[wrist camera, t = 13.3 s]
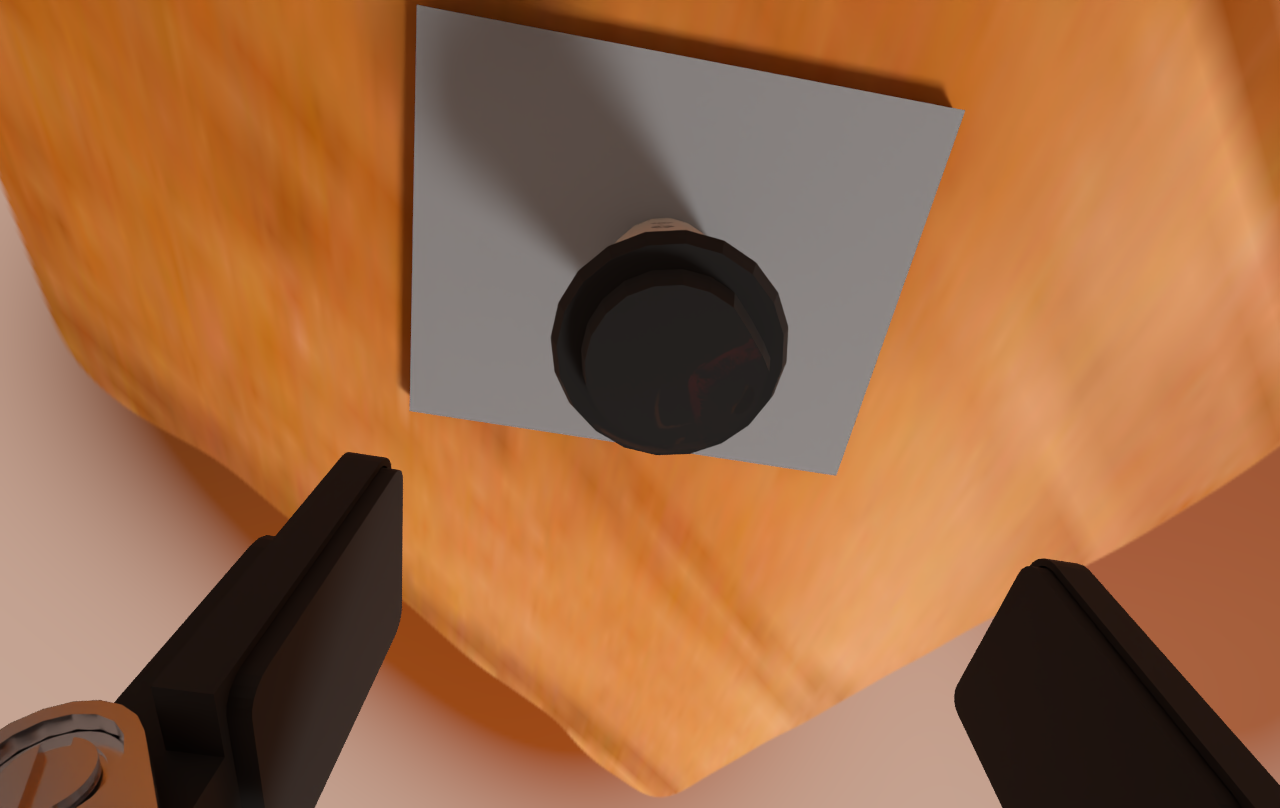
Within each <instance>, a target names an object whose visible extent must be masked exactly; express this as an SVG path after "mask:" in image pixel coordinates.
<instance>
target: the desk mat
mask: <svg viewBox="0 0 1280 808" xmlns="http://www.w3.org/2000/svg"><path fill="white" fill-rule="evenodd" d="M964 112H965V110H960V109H955V108H950V107H945V106H940V105H935V104H929V103H924V102H919V101H914V100H909V99H903V98H898V97H893V96H888V95H883V94H877V93H872V92H867V91H862V90H857V89H852V88H846V87H841V86H836V85H831V84H826V83H820V82H815V81H810V80H805V79H800V78H794V77H789V76H784V75H779V74H774V73H769V72H763V71H758V70H753V69H748V68H743V67H737V66H732V65H727V64H722V63H717V62H712V61H706V60H701V59H696V58H691V57H686V56H680V55H675V54H670V53H665V52H660V51H654V50H649V49H644V48H639V47H634V46H629V45H623V44H618V43H613V42H608V41H603V40H597V39H592V38H587V37H582V36H577V35H571V34H566V33H561V32H556V31H551V30H546V29H540V28H535V27H530V26H525V25H520V24H514V23H509V22H504V21H499V20H494V19H488V18H483V17H478V16H473V15H468V14H463V13H457V12H452V11H447V10H442V9H437V8H431V7H426V6H421V5H417V19H416V77H415V134H414V192H413V250H412V307H411V365H410V411H413V412H420V413H426V414H433V415H440V416H446V417H453V418H459V419H466V420H473V421H479V422H486V423H492V424H499V425H506V426H512V427H519V428H526V429H532V430H539V431H545V432H552V433H559V434H565V435H572V436H578V437H585V438H592V439H598V440H605V441H611V442H614V441H612V440H611V439H609V438H607V437H605V436H604V435H602V434H600V433H598V432H597V431H595V430H594V429H593V428H592V426H591V425H590V424H589V423H588V422H587V421H586V420H585V419H584V418H583V417H582V416H581V415H580V414H579V413H578V412H577V411H576V410H575V408H574V407H573V406H572V405H571V404H570V403H569V401H568V399H567V397H566V395H565V393H564V391H563V389H562V387H561V385H560V382H559V380H558V378H557V376H556V374H555V372H554V363H553V355H552V346H551V333H552V329H553V324H554V320H555V315H556V311H557V306H558V302H559V301H560V299H561V297H562V296H563V294H564V293H565V291H566V289H567V288H568V286H569V285H570V283H571V281H572V280H573V278H574V276H575V275H576V273H577V272H578V270H580V269H581V268H582V267H583V266H584V265H586V264H587V263H588V262H589V261H591V260H592V259H593V258H594V257H595V256H597V255H598V254H599V253H600V252H601V251H603V250H604V249H605V248H606V247H608V246H610V245H612V244H614V243H615V242H616V241H617V240H618V239H619V238H620V237H621V236H622V235H624V234H625V233H626V232H627V231H628V230H630V229H631V228H632V227H633V226H635V225H637V224H639V223H642V222H645V221H647V220H650V219H656V218H672V219H676V220H679V221H683V222H686V223H688V224H690V225H691V226H693V227H694V228H696V229H697V230H699V231H700V232H702V233H703V234H704V235H706V236H710V237H713V238H717V239H721V240H724V241H726V242H727V243H729V244H730V245H732V246H733V247H734V248H736V249H737V250H739V251H740V252H742V253H743V254H745V255H746V256H748V257H749V258H750V259H752V260H753V261H755V262H756V263H757V264H758V266H759V267H760V268H761V270H762V271H763V272H764V274H765V275H766V276H767V278H768V279H769V281H770V282H771V283H772V285H773V286H774V287H775V289H776V290H777V292H778V293H779V297H780V300H781V304H782V307H783V310H784V314H785V317H786V320H787V324H788V345H787V362H786V365H785V367H784V370H783V372H782V375H781V377H780V380H779V382H778V385H777V387H776V390H775V392H774V395H773V396H772V398H771V399H770V400H769V401H768V403H767V404H766V405H765V406H764V408H763V409H762V410H761V411H760V412H759V414H758V415H757V416H756V417H755V418H754V420H753V421H752V422H751V423H750V424H749V426H747V427H746V428H744V429H743V430H741V431H740V432H738V433H737V434H735V435H734V436H732V437H731V438H729V439H728V440H726V441H725V442H723V443H722V444H719V445H716V446H713V447H709V448H706V449H703V450H700V451H697V452H694V453H691V454H697V455H704V456H710V457H717V458H724V459H730V460H737V461H743V462H750V463H757V464H763V465H770V466H776V467H783V468H790V469H796V470H803V471H809V472H816V473H823V474H829V475H836V474H837V472H838V469H839V466H840V463H841V460H842V457H843V455H844V452H845V449H846V446H847V443H848V440H849V438H850V435H851V432H852V429H853V426H854V423H855V421H856V418H857V415H858V412H859V409H860V406H861V404H862V401H863V398H864V395H865V392H866V390H867V387H868V384H869V381H870V378H871V375H872V373H873V370H874V367H875V364H876V361H877V358H878V356H879V353H880V350H881V347H882V344H883V341H884V339H885V336H886V333H887V330H888V327H889V324H890V322H891V319H892V316H893V313H894V310H895V308H896V305H897V302H898V299H899V296H900V293H901V291H902V288H903V285H904V282H905V279H906V276H907V274H908V271H909V268H910V265H911V262H912V259H913V257H914V254H915V251H916V248H917V245H918V242H919V240H920V237H921V234H922V231H923V228H924V225H925V223H926V220H927V217H928V214H929V211H930V209H931V206H932V203H933V200H934V197H935V194H936V192H937V189H938V186H939V183H940V180H941V177H942V175H943V172H944V169H945V166H946V163H947V160H948V158H949V155H950V152H951V149H952V146H953V143H954V141H955V138H956V135H957V132H958V129H959V127H960V124H961V121H962V118H963V115H964Z"/></svg>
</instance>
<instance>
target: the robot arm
mask: <svg viewBox="0 0 1280 808" xmlns="http://www.w3.org/2000/svg"><path fill="white" fill-rule="evenodd" d="M402 522H403V475H402V472H401V471H400V470H396V469H391V463H390V460H389V459H388V458H384V457H378V456H371V455H365V454H358V453H352V452H348V453H345V454H344V455H343V456H342V457H341V458H340V459H339V460H338V461H337V463H336V464H335V465H334V466H333V467H332V469H331V470H330V471H329V472H328V473H327V475H326V476H325V477H324V478H323V480H322V481H321V482H320V483H319V484H318V486H317V487H316V488H315V489H314V490H313V492H312V493H311V494H310V495H309V496H308V498H307V499H306V500H305V501H304V502H303V504H302V505H301V506H300V507H299V508H298V510H297V511H296V512H295V513H294V514H293V516H292V517H291V518H290V519H289V520H288V522H287V523H286V524H285V525H284V526H283V528H282V529H281V530H280V531H279V532H278V534H277V535H276V536H269V535H266V536H263V537H260V538H258V539H257V540H256V541H255V542H254V543H253V544H252V545H251V546H250V547H249V548H248V549H247V550H246V551H245V552H244V554H243V555H242V556H241V557H240V558H239V559H238V561H237V562H236V563H235V564H234V565H233V566H232V567H231V569H230V570H229V571H228V572H227V573H226V574H225V576H224V577H223V578H222V579H221V580H220V581H219V583H218V584H217V585H216V586H215V587H214V588H213V589H212V590H211V592H210V593H209V594H208V595H207V596H206V597H205V599H204V600H203V601H202V602H201V603H200V604H199V605H198V607H197V608H196V609H195V610H194V611H193V612H192V613H191V615H190V616H189V617H188V618H187V619H186V620H185V622H184V623H183V624H182V625H181V626H180V627H179V628H178V630H177V631H176V632H175V633H174V634H173V635H172V637H171V638H170V639H169V640H168V641H167V642H166V643H165V645H164V646H163V647H162V648H161V649H160V650H159V651H158V653H157V654H156V655H155V656H154V657H153V659H152V660H151V661H150V662H149V663H148V664H147V665H146V667H145V668H144V669H143V670H142V671H141V672H140V674H139V675H138V676H137V677H136V678H135V679H134V680H133V682H132V683H131V684H130V685H129V686H128V687H127V688H126V690H125V691H124V692H123V693H122V694H121V695H120V696H119V698H118V699H117V700H116V701H115V702H114V703H111V702H107V701H102V700H92V701H74V702H69V703H65V704H61V705H57V706H53V707H49V708H45V709H42V710H40V711H37V712H35V713H32V714H30V715H28V716H26V717H23V718H21V719H19V720H16V721H14V722H12V723H10V724H8V725H6V726H5V727H3V728H2V729H1V730H0V808H315V805H316V804H317V801H318V799H319V797H320V795H321V793H322V791H323V789H324V787H325V784H326V782H327V780H328V778H329V776H330V774H331V771H332V769H333V767H334V765H335V763H336V761H337V759H338V757H339V754H340V752H341V750H342V748H343V746H344V744H345V742H346V739H347V737H348V735H349V733H350V731H351V729H352V727H353V724H354V722H355V720H356V718H357V716H358V714H359V712H360V709H361V707H362V705H363V703H364V701H365V699H366V697H367V695H368V692H369V690H370V688H371V686H372V684H373V682H374V680H375V677H376V675H377V673H378V671H379V669H380V667H381V665H382V663H383V660H384V658H385V656H386V654H387V652H388V650H389V648H390V645H391V643H392V641H393V639H394V637H395V635H396V632H397V629H398V626H399V622H400V618H401V611H402ZM954 699H955V700H954V702H955V707H956V710H957V713H958V716H959V718H960V720H961V722H962V724H963V726H964V728H965V730H966V732H967V734H968V736H969V738H970V741H971V743H972V745H973V747H974V749H975V751H976V753H977V755H978V757H979V760H980V761H981V764H982V765H983V768H984V770H985V772H986V774H987V776H988V778H989V780H990V783H991V785H992V787H993V789H994V791H995V793H996V795H997V797H998V799H999V801H1000V803H1001V806H1002V808H1280V785H1279V784H1278V783H1277V782H1276V781H1275V779H1274V778H1273V777H1272V776H1271V775H1270V774H1269V773H1268V772H1267V770H1266V769H1265V768H1264V767H1263V766H1262V765H1261V764H1260V762H1259V761H1258V760H1257V759H1256V758H1255V757H1254V756H1253V755H1252V753H1251V752H1250V751H1249V750H1248V749H1247V748H1246V747H1245V746H1244V744H1243V743H1242V742H1241V741H1240V740H1239V739H1238V738H1237V736H1236V735H1235V734H1234V733H1233V732H1232V731H1231V730H1230V729H1229V728H1228V727H1227V725H1226V724H1225V723H1224V722H1223V721H1222V720H1221V718H1220V717H1219V716H1218V715H1217V714H1216V713H1215V712H1214V711H1213V709H1212V708H1211V707H1210V706H1209V705H1208V704H1207V703H1206V702H1205V700H1203V698H1202V697H1201V696H1200V695H1199V694H1198V692H1197V691H1196V690H1195V689H1194V688H1193V687H1192V686H1191V685H1190V683H1189V682H1188V681H1187V680H1186V679H1185V678H1184V677H1183V676H1182V674H1181V673H1180V672H1179V671H1178V670H1177V669H1176V668H1175V667H1174V666H1173V664H1172V663H1171V662H1170V661H1169V660H1168V659H1167V657H1166V656H1165V655H1164V654H1163V653H1162V652H1161V651H1160V650H1159V648H1158V647H1157V646H1156V645H1155V644H1154V643H1153V642H1152V641H1151V640H1150V638H1149V637H1148V636H1147V635H1146V634H1145V633H1144V631H1143V630H1142V629H1141V628H1140V627H1139V626H1138V625H1137V624H1136V622H1135V621H1134V620H1133V619H1132V618H1131V617H1130V616H1129V615H1128V613H1127V612H1126V611H1125V610H1124V609H1123V608H1122V607H1121V605H1120V604H1119V603H1118V602H1117V601H1116V600H1115V599H1114V598H1113V596H1112V595H1111V594H1110V593H1109V592H1108V591H1107V590H1106V589H1105V587H1104V586H1103V585H1102V584H1101V583H1100V582H1099V581H1098V579H1097V578H1096V577H1095V576H1094V575H1093V574H1092V573H1091V572H1090V570H1088V569H1087V568H1086V567H1085V566H1083V565H1080V564H1077V563H1070V562H1064V561H1057V560H1051V559H1038V560H1036V561H1034V562H1033V563H1032V564H1031V565H1030V566H1027V567H1025V568H1023V569H1022V570H1021V571H1020V572H1019V574H1018V576H1017V578H1016V579H1015V581H1014V583H1013V585H1012V587H1011V588H1010V590H1009V592H1008V594H1007V596H1006V597H1005V599H1004V601H1003V603H1002V605H1001V606H1000V608H999V610H998V612H997V614H996V616H995V617H994V619H993V621H992V623H991V625H990V627H989V628H988V630H987V632H986V634H985V636H984V637H983V639H982V641H981V643H980V645H979V646H978V648H977V650H976V652H975V654H974V655H973V657H972V659H971V661H970V663H969V664H968V666H967V668H966V670H965V672H964V674H963V675H962V677H961V679H960V681H959V683H958V684H957V687H956V689H955V695H954Z"/></svg>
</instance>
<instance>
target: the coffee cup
mask: <svg viewBox="0 0 1280 808" xmlns="http://www.w3.org/2000/svg"><path fill="white" fill-rule="evenodd" d="M787 345H788V324H787V320H786V317H785V314H784V310H783V307H782V304H781V300H780V297H779V293H778V292H777V290H776V289H775V287H774V286H773V285H772V283H771V282H770V281H769V279H768V278H767V276H766V275H765V274H764V272H763V271H762V270H761V268H760V267H759V266H758V264H757V263H756V262H755V261H753V260H752V259H750V258H749V257H748V256H746V255H745V254H743V253H742V252H740V251H739V250H737V249H736V248H734V247H733V246H732V245H730V244H729V243H727V242H726V241H724V240H721V239H717V238H713V237H710V236H706V235H704V234H703V233H702V232H700V231H699V230H697V229H696V228H694V227H693V226H691V225H690V224H688V223H686V222H683V221H679V220H676V219H672V218H656V219H650V220H647V221H645V222H642V223H639V224H637V225H635V226H633V227H632V228H631V229H630V230H628V231H627V232H626V233H625V234H624V235H622V236H621V237H620V238H619V239H618V240H617V241H616V242H615V243H614V244H612V245H610V246H608V247H606V248H605V249H604V250H603V251H601V252H600V253H599V254H598V255H597V256H595V257H594V258H593V259H592V260H591V261H589V262H588V263H587V264H586V265H584V266H583V267H582V268H581V269H580V270H578V272H577V273H576V275H575V276H574V278H573V280H572V281H571V283H570V285H569V286H568V288H567V289H566V291H565V293H564V294H563V296H562V297H561V299H560V301H559V302H558V306H557V311H556V315H555V320H554V324H553V329H552V333H551V346H552V355H553V363H554V372H555V374H556V376H557V378H558V380H559V382H560V385H561V387H562V389H563V391H564V393H565V395H566V397H567V399H568V401H569V403H570V404H571V405H572V406H573V407H574V408H575V410H576V411H577V412H578V413H579V414H580V415H581V416H582V417H583V418H584V419H585V420H586V421H587V422H588V423H589V424H590V425H591V426H592V428H593V429H594V430H595V431H597V432H598V433H600V434H602V435H604V436H605V437H607V438H609V439H611V440H612V441H614V442H616V443H618V444H619V445H621V446H623V447H625V448H629V449H633V450H637V451H642V452H646V453H650V454H654V455H672V454H691V453H694V452H697V451H700V450H703V449H706V448H709V447H713V446H716V445H719V444H722V443H723V442H725V441H726V440H728V439H729V438H731V437H732V436H734V435H735V434H737V433H738V432H740V431H741V430H743V429H744V428H746V427H747V426H749V424H750V423H751V422H752V421H753V420H754V418H755V417H756V416H757V415H758V414H759V412H760V411H761V410H762V409H763V408H764V406H765V405H766V404H767V403H768V401H769V400H770V399H771V398H772V396H773V395H774V392H775V390H776V387H777V385H778V382H779V380H780V377H781V375H782V372H783V370H784V367H785V365H786V362H787Z"/></svg>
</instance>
